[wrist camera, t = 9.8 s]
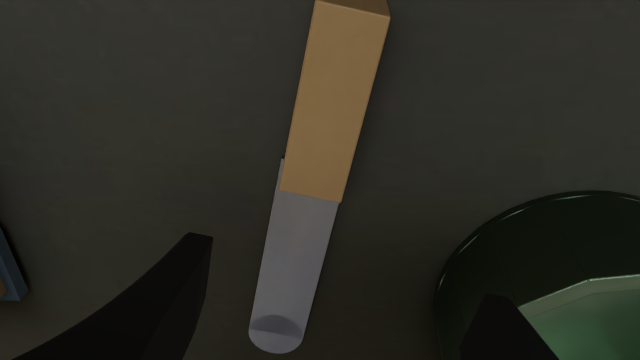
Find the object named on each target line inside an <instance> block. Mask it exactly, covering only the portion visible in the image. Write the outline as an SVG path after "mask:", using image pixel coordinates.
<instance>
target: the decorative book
mask: <svg viewBox="0 0 640 360" xmlns="http://www.w3.org/2000/svg"><path fill="white" fill-rule="evenodd" d="M27 292H28V289H27V286H26V284H25V282H24V280H23V277H22V275H21V273H20V270H19V268H18V266H17V264H16V261H15V259H14V257H13V254H12V252H11V250H10V248H9V245H8V243H7V241H6V239H5V236H4V234H3V232H2V229H1V227H0V300H13V301H20V300H21V299H22V298H23V297H24V295H25V294H26V293H27Z"/></svg>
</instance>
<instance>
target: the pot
mask: <svg viewBox="0 0 640 360" xmlns="http://www.w3.org/2000/svg"><path fill="white" fill-rule="evenodd" d="M485 293H489V294H494V295H499V296H504V297H508V298H509V299H510V300H511V301H512V302H513V303H514V304H515V306H516V307H517V308H518V309H519V310H520V312H521V313H522V314H523V315H524V317H525V318H526V319H527V320H528V321H529V323H530V324H531V325H532V326H533V328H534V329H535V330H536V331H537V333H538V334H539V335H540V336H541V338H542V339H543V340H544V341H545V343H546V344H547V345H548V346H549V347H550V349H551V350H552V351H553V352H554V353H555V355H556V356H557V357H558V358H559V359H560V360H640V198H639V197H635V196H632V195H628V194H622V193H616V192H609V191H579V192H568V193H562V194H556V195H551V196H547V197H543V198H540V199H536V200H533V201H529V202H527V203H524V204H522V205H519V206H517V207H514V208H512V209H510V210H508V211H506V212H504V213H502V214H500V215H498V216H497V217H495V218H493V219H492V220H490V221H489V222H487V223H486V224H484V225H483V226H481V227H480V228H479V229H477V230H476V231H475V232H474V233H473V234H472V235H470V236H469V237H468V238H467V239H466V240H465V241H464V242H463V243H462V244H461V245H460V246H459V247H458V249H457V250H456V251H455V252H454V254H453V255H452V256H451V258H450V259H449V261H448V262H447V264H446V266H445V268H444V269H443V271H442V273H441V275H440V278H439V281H438V284H437V287H436V291H435V298H434V302H433V304H434V316H435V322H436V331H437V339H438V344H439V350H440V356H441V360H460V352H459V346H460V344H461V342H462V340H463V338H464V336H465V334H466V332H467V330H468V328H469V326H470V324H471V322H472V320H473V318H474V316H475V314H476V312H477V309H478V307H479V305H480V303H481V301H482V299H483V297H484V295H485Z"/></svg>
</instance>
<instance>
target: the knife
mask: <svg viewBox="0 0 640 360" xmlns="http://www.w3.org/2000/svg"><path fill="white" fill-rule="evenodd" d="M390 20H391V17H390V13H389V9H388V5H387V1H386V0H315V4H314V9H313V14H312V19H311V24H310V30H309V35H308V40H307V45H306V50H305V55H304V60H303V66H302V71H301V76H300V81H299V86H298V91H297V97H296V102H295V107H294V112H293V117H292V122H291V127H290V133H289V138H288V143H287V148H286V153H285V156H282V158H281V163H280V168H279V173H278V178H277V184H276V189H275V194H274V199H273V205H272V210H271V215H270V220H269V226H268V231H267V236H266V241H265V247H264V252H263V257H262V262H261V267H260V273H259V278H258V283H257V288H256V294H255V299H254V304H253V309H252V315H251V320H250V325H249V336H250V339H251V341H252V342H253V343H254V344H255V345H256V346H257V347H258V348H260V349H262V350H264V351H267V352H270V353H287V352H290V351H292V350H294V349H296V348H297V347H298V346H299V345H300V344H301V342H302V340H303V336H304V332H305V329H306V325H307V321H308V317H309V314H310V310H311V306H312V302H313V299H314V295H315V291H316V288H317V284H318V280H319V276H320V273H321V269H322V265H323V261H324V258H325V254H326V250H327V246H328V243H329V239H330V235H331V231H332V228H333V224H334V220H335V216H336V213H337V209H338V205H339V203H341V201H342V198H343V194H344V190H345V187H346V183H347V179H348V175H349V172H350V168H351V164H352V161H353V157H354V153H355V149H356V146H357V142H358V138H359V135H360V131H361V127H362V124H363V120H364V116H365V112H366V109H367V105H368V101H369V98H370V94H371V90H372V86H373V83H374V79H375V75H376V72H377V68H378V64H379V60H380V57H381V53H382V49H383V46H384V42H385V38H386V34H387V31H388V27H389V23H390Z"/></svg>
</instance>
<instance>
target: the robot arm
mask: <svg viewBox="0 0 640 360" xmlns="http://www.w3.org/2000/svg"><path fill="white" fill-rule="evenodd" d="M212 243H213V237H211V236H206V235H201V234H196V233H191V232H189V233H187V234H186V235H184V236H183V237H182V239H181V240H180V241H179V242H178V243H177V244H176V245H175V246H174V247H173V248H172V249H171V250H170V251H169V252H168V253H167V254H166V255H165V256H164V257H163V258H162V259H161V260H160V261H158V262H157V263H156V264H155V265H154V266H153V267H152V268H151V269H149V270H148V271H147V272H146V273H145V274H144V275H143V276H142V277H140V278H139V279H138V280H137V281H136V282H134V283H133V284H132V285H131V286H129V287H128V288H127V289H126V290H124V291H123V292H122V293H120V294H119V295H118V296H117V297H115V298H114V299H113V300H112V301H110V302H109V303H107V304H106V305H105V306H103V307H102V308H100V309H99V310H98V311H96V312H95V313H93V314H92V315H90V316H89V317H87V318H86V319H84V320H82V321H81V322H79V323H78V324H76V325H75V326H73V327H71V328H70V329H68V330H66V331H65V332H63V333H61V334H59V335H58V336H56V337H54V338H53V339H51V340H49V341H47V342H45V343H44V344H42V345H40V346H38V347H36V348H34V349H32V350H30V351H28V352H26V353H24V354H22V355H20V356H18V357H16V358H14V359H12V360H182V359H183V357H184V355H185V352H186V350H187V348H188V346H189V343H190V341H191V339H192V336H193V334H194V332H195V329H196V325H197V322H198V319H199V316H200V313H201V309H202V306H203V303H204V300H205V296H206V289H207V281H208V273H209V266H210V258H211V250H212ZM459 352H460V360H560V359H559V358H558V357H557V356H556V355H555V353H554V352H553V351H552V350H551V349H550V347H549V346H548V345H547V344H546V343H545V341H544V340H543V339H542V338H541V336H540V335H539V334H538V333H537V331H536V330H535V329H534V328H533V326H532V325H531V324H530V323H529V321H528V320H527V319H526V318H525V317H524V315H523V314H522V313H521V312H520V310H519V309H518V308H517V307H516V306H515V304H514V303H513V302H512V301H511V300H510V299H509V298H508V297H504V296H499V295H494V294H489V293H485V295H484V297H483V299H482V301H481V303H480V305H479V307H478V309H477V312H476V314H475V316H474V318H473V320H472V322H471V324H470V326H469V328H468V330H467V332H466V334H465V336H464V338H463V340H462V342H461V344H460V346H459Z"/></svg>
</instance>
